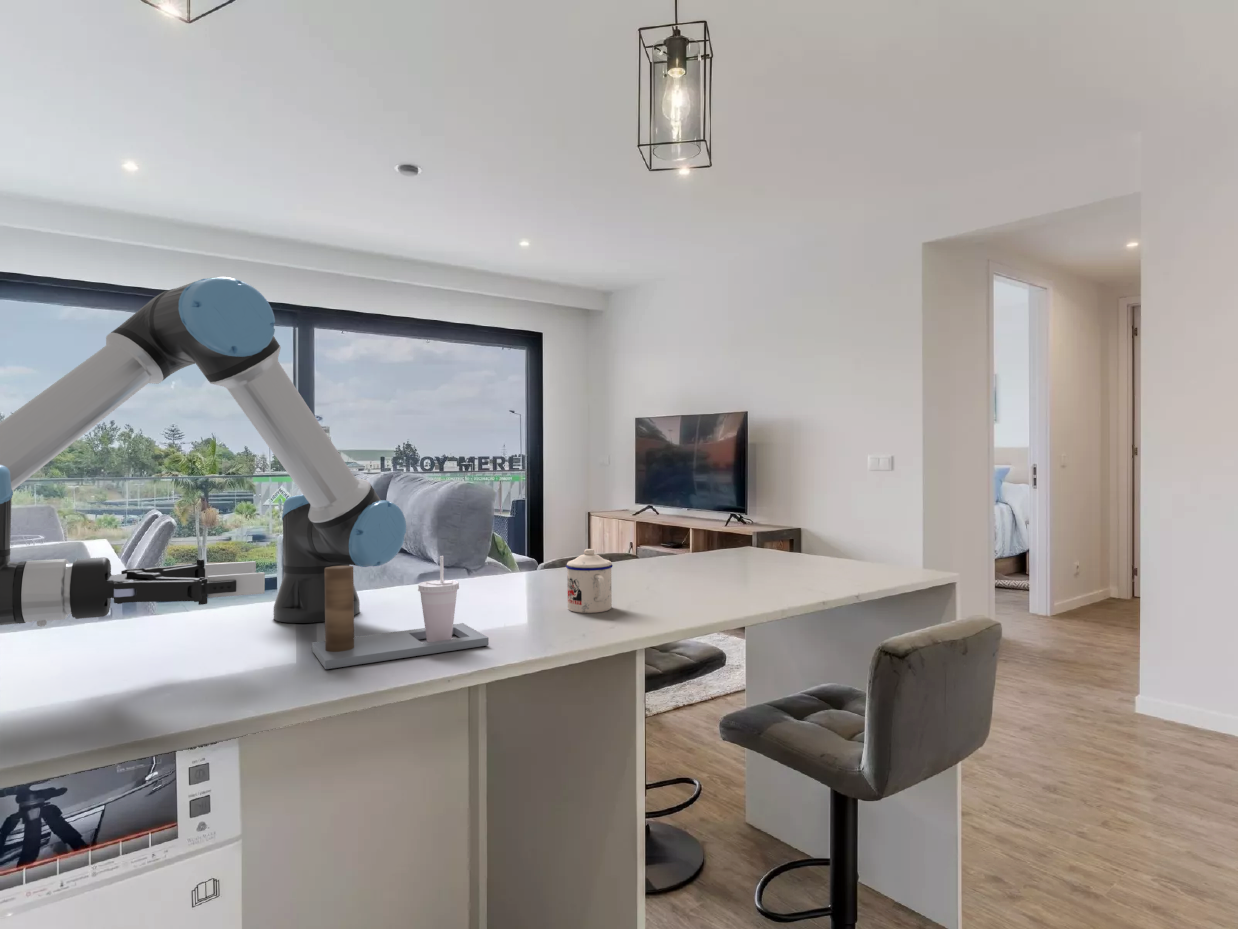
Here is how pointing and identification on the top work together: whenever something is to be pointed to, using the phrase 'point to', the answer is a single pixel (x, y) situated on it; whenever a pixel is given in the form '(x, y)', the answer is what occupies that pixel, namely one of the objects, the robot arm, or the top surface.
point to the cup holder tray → (377, 647)
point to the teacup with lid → (589, 583)
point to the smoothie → (438, 606)
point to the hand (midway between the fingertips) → (260, 576)
